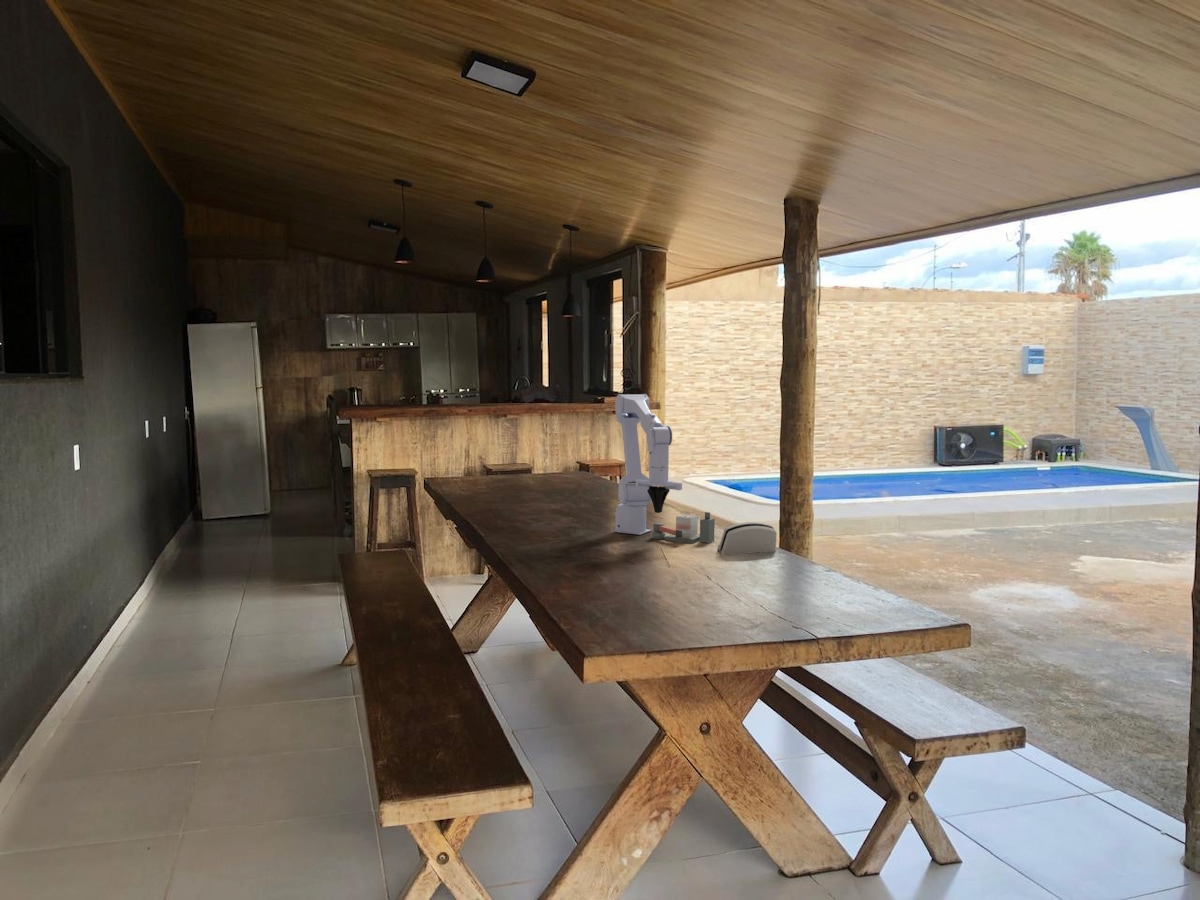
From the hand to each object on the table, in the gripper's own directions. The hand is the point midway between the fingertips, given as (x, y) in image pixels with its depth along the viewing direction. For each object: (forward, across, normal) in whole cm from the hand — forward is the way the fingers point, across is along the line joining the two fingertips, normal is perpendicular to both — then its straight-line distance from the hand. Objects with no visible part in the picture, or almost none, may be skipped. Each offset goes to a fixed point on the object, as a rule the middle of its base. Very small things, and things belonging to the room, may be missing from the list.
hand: (658, 512), depth 279 cm
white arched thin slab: (+10, +27, +4) cm, 29 cm away
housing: (+8, +4, +11) cm, 15 cm away
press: (+10, +4, +11) cm, 15 cm away
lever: (+7, +1, +6) cm, 9 cm away
